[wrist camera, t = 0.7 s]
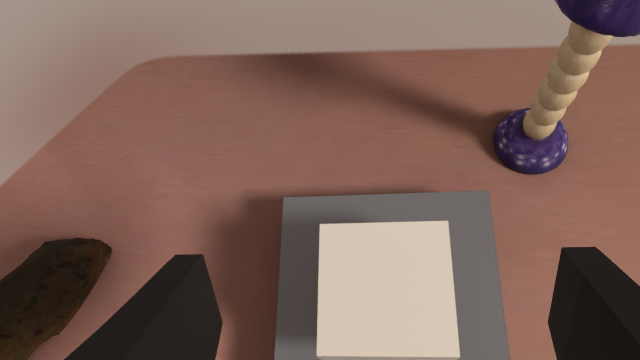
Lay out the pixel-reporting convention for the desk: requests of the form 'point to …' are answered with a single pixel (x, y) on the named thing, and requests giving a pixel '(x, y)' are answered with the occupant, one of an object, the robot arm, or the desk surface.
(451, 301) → the cap
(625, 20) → the toy lamp
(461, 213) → the panel
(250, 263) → the desk surface
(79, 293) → the hand tool
